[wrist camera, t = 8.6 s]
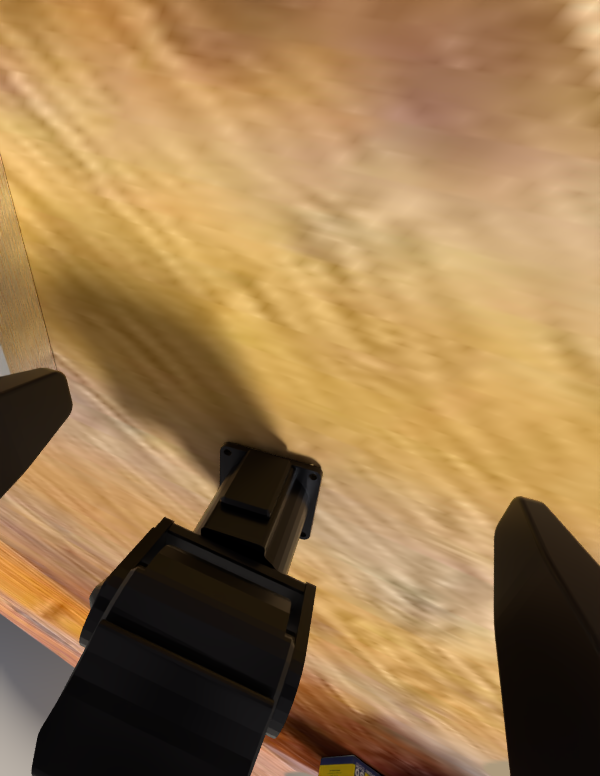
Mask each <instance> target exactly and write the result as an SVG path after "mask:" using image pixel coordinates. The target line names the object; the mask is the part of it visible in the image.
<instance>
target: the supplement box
mask: <svg viewBox="0 0 600 776" xmlns="http://www.w3.org/2000/svg"><path fill="white" fill-rule="evenodd" d="M318 776H381V775H380V774H378V773H377V772H376V771H374V770H373V769H371V768H370V767H369V766H367V765H366V764H364V763H363V762H361V761H360V759H358V758H357V757H356V756H355V755H347V756H335V757H325V758H322V759H321V764H320V769H319V775H318Z"/></svg>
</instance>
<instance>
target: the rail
mask: <svg viewBox="0 0 600 776" xmlns="http://www.w3.org/2000/svg"><path fill="white" fill-rule="evenodd" d="M37 368H49V369H53V370H56V366H55V362H54V358H53V354H52V351H51V347H50V343H49V339H48V335H47V332H46V328H45V324H44V320H43V316H42V313H41V309H40V305H39V301H38V297H37V294H36V290H35V286H34V282H33V278H32V274H31V271H30V267H29V263H28V259H27V255H26V252H25V248H24V244H23V240H22V236H21V233H20V229H19V225H18V221H17V217H16V214H15V210H14V206H13V202H12V198H11V194H10V191H9V187H8V183H7V179H6V175H5V172H4V168H3V164H2V160H1V156H0V376H5V375H10V374H14V373H19V372H23V371H28V370H32V369H37Z"/></svg>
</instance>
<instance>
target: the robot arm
mask: <svg viewBox="0 0 600 776" xmlns="http://www.w3.org/2000/svg"><path fill="white" fill-rule="evenodd" d="M72 406H73V404H72V399H71V395H70V391H69V387H68V383H67V379H66V376H65V375H64V374H63V373H62V372H60V371H57V370H53V369H49V368H37V369H32V370H28V371H23V372H19V373H14V374H10V375H5V376H0V498H1V497H2V496H3V495H4V494H5V493H6V492H7V491H8V490H9V489H10V488H11V487H12V486H13V485H14V484H15V482H16V481H17V480H18V479H19V478H20V477H21V476H22V475H23V474H24V472H25V471H26V470H27V469H28V468H29V466H30V465H31V464H32V463H33V461H34V460H35V459H36V458H37V456H38V455H39V454H40V452H41V451H42V450H43V449H44V447H45V446H46V445H47V443H48V442H49V441H50V440H51V438H52V437H53V436H54V434H55V433H56V432H57V431H58V429H59V428H60V427H61V426H62V424H63V423H64V422H65V420H66V419H67V418H68V417H69V415H70V413H71V411H72ZM227 449H228V450H230V451H231V452H230V451H228V450H227ZM312 474H315V475H316V476H314V475H312ZM322 476H323V472H322V470H321V469H320V468H318V467H316V466H312V465H309V464H305V463H302V462H298V461H295V460H291V459H287V458H284V457H280V456H277V455H273V454H270V453H266V452H263V451H259V450H255V449H252V448H248V447H245V446H241V445H238V444H234V443H231V442H226V443H224V444H223V446H222V447H221V449H220V488H219V490H218V491H217V493H216V495H215V496H214V498H213V499H212V501H211V503H210V504H209V506H208V508H207V509H206V511H205V513H204V514H203V516H202V518H201V519H200V521H199V523H198V524H197V526H196V528H195V529H194V531H193V532H192V531H190V530H188V529H186V528H184V527H181V526H179V525H177V524H175V523H174V521H173V520H171V519H168V518H166V517H164V518H163V519H162V520H161V522H160V523H159V524H158V525H157V526H156V527H155V528H154V527H153V528H152V529H151V530H150V531H149V532H148V533H147V534H146V535H145V536H144V538H143V539H142V540H141V541H140V542H139V543H138V544H137V545H136V546H135V548H134V549H133V550H132V551H131V552H130V553H129V554H128V555H127V556H126V558H125V559H124V560H123V561H122V562H121V563H120V564H119V565H118V566H117V567H116V569H115V570H114V571H113V572H112V573H111V574H110V575H109V576H108V577H107V578H106V579H105V580H103V581H102V582H101V583H100V584H98V585H97V586H96V587H95V589H94V590H93V591H92V593H91V595H90V598H89V600H90V607H91V610H90V613H89V615H88V617H87V619H86V622H85V624H84V626H83V629H82V632H81V635H80V640H79V643H80V645H81V646H83V647H85V650H84V652H83V654H82V655H81V657H80V659H79V661H78V663H77V665H76V667H75V669H74V671H73V673H72V675H71V676H70V678H69V680H68V682H67V684H66V686H65V688H64V690H63V692H62V694H61V696H60V697H59V699H58V701H57V703H56V704H55V706H54V708H53V709H52V711H51V713H50V714H49V716H48V718H47V719H46V721H45V723H44V724H43V726H42V728H41V729H40V732H39V734H38V738H37V742H36V748H35V753H34V758H33V764H32V776H250V775H251V773H252V770H253V767H254V764H255V762H256V759H257V756H258V753H259V751H260V748H261V745H262V743H263V740H264V737H265V735H268V736H270V737H272V738H276V737H277V736H278V735H279V733H280V732H281V730H282V728H283V726H284V724H285V722H286V719H287V717H288V715H289V712H290V709H291V707H292V704H293V701H294V698H295V695H296V692H297V689H298V686H299V682H300V679H301V675H302V671H303V667H304V662H305V657H306V651H307V644H308V638H309V631H310V624H311V618H312V611H313V605H314V598H315V592H316V586H315V585H312V584H310V583H308V582H306V583H304V582H301V581H299V580H297V579H295V578H293V577H290V576H288V575H287V574H288V571H289V568H290V565H291V562H292V559H293V556H294V552H295V549H296V546H297V543H298V540H299V538H300V539H304V540H305V539H308V538H309V537H310V534H311V530H312V525H313V520H314V515H315V510H316V505H317V501H318V496H319V491H320V486H321V481H322ZM494 629H495V641H496V650H497V659H498V668H499V677H500V686H501V695H502V704H503V713H504V722H505V731H506V741H507V750H508V759H509V767H510V776H600V566H599V564H598V563H597V562H596V561H595V560H594V559H593V558H592V557H591V555H590V554H589V553H588V552H587V551H586V550H585V549H584V548H583V546H582V545H581V544H580V543H579V542H578V541H577V540H576V539H575V537H574V536H573V535H572V534H571V533H570V532H569V531H568V530H567V529H566V527H565V526H564V525H563V524H562V523H561V522H560V521H559V520H558V518H557V517H556V516H555V515H554V514H553V513H552V512H551V511H550V509H549V508H548V507H547V506H546V505H545V504H544V503H542V502H540V501H537V500H533V499H529V498H525V497H522V496H518V497H515V498H514V499H513V500H512V502H511V503H510V505H509V506H508V508H507V510H506V511H505V513H504V515H503V516H502V518H501V520H500V521H499V523H498V525H497V527H496V530H495V535H494Z"/></svg>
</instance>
